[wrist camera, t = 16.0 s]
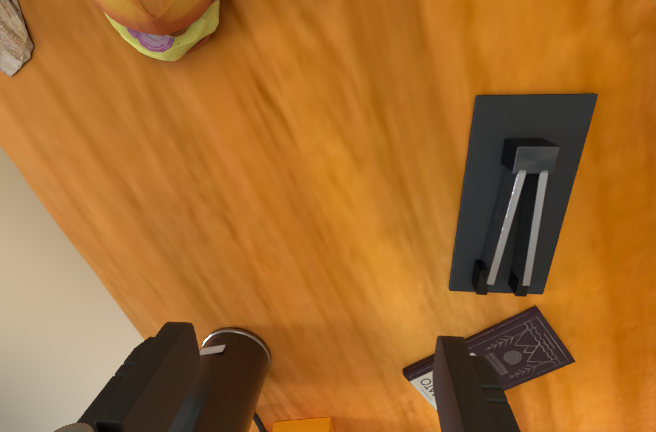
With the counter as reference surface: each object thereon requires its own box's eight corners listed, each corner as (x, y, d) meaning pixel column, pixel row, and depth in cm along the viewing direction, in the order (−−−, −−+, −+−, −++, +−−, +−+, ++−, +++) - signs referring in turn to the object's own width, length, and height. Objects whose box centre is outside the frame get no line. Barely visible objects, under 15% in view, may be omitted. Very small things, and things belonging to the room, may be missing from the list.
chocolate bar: (575, 361, 42) (441, 416, 48) (571, 355, 43) (440, 409, 49) (539, 311, 40) (403, 375, 46) (536, 306, 41) (402, 369, 46)
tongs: (495, 138, 33) (507, 146, 30) (552, 138, 32) (571, 146, 30) (470, 282, 40) (479, 300, 37) (518, 284, 39) (530, 302, 36)
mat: (540, 291, 40) (542, 294, 39) (448, 287, 41) (449, 291, 40) (594, 93, 31) (598, 94, 31) (475, 95, 32) (477, 95, 32)
